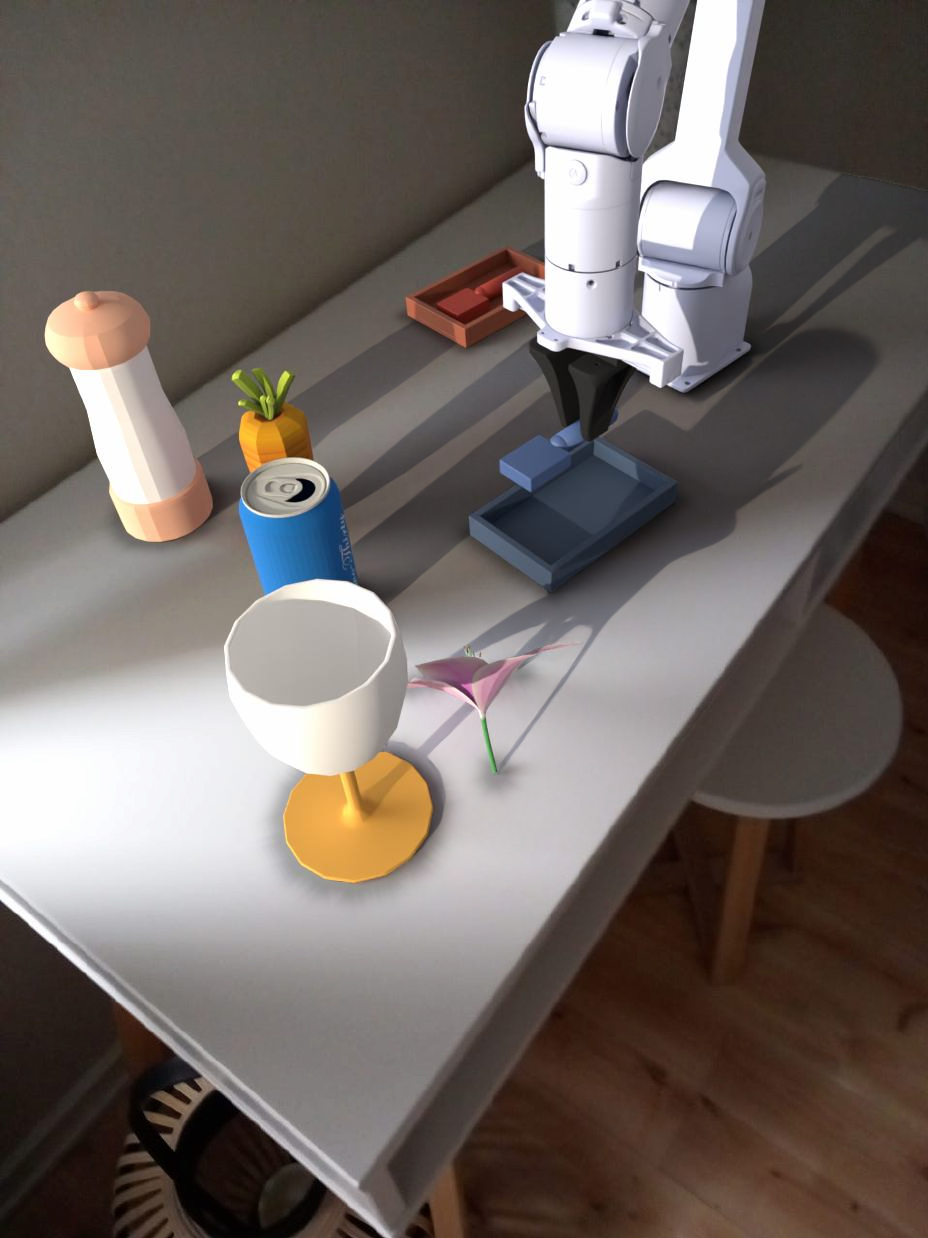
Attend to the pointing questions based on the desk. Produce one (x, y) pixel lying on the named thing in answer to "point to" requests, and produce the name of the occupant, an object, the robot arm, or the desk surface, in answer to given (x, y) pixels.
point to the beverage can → (295, 524)
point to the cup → (332, 723)
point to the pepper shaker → (130, 415)
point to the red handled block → (475, 298)
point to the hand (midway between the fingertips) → (584, 427)
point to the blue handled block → (543, 457)
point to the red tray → (471, 277)
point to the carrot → (271, 421)
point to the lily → (474, 680)
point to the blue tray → (573, 513)
